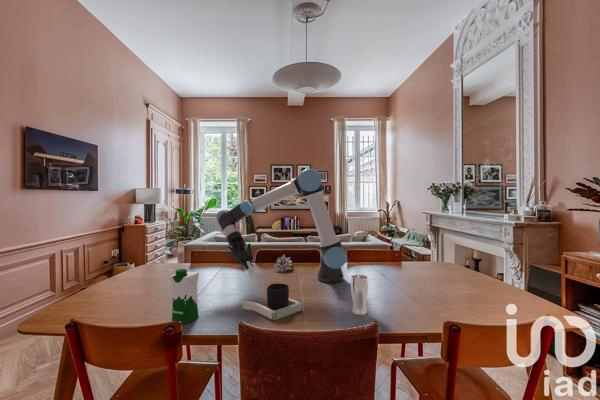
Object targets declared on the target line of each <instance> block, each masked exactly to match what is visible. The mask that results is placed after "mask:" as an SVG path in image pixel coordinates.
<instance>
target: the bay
mask: <svg viewBox="0 0 600 400" xmlns="http://www.w3.org/2000/svg"><path fill="white" fill-rule="evenodd" d="M302 303H303V302H300V301H297V300H295V299H292V298H290V297H289V300H288V306H287V307H284V308H281V309H278V310H275V311H274V310H272V309H270V308H268V306H265V305H263V304H261V303H258V302H254V301H248V300H244V301H242V309H243V310H248V311H253V312H256V313H258V314H259V315H262V316H264V317H265V318H268V319H270V320H273V321H277V320H279V319H282V318H284V317H287V316H290V315H292V314H296V313H298V312H301V311H302V310H303V304H302Z"/></svg>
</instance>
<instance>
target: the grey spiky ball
mask: <svg viewBox="0 0 600 400" xmlns="http://www.w3.org/2000/svg"><path fill="white" fill-rule="evenodd" d="M273 267H275V268H276V267H277V271H280V273H282V272H283V271H284V270H286V271H288V267H289V268H290V269H291V270H292V271H294V269H295V266H294V265H293V260H291V257H290V256H289V257H286V255H285V254H283V255H281V256H280V257H277V258H276V260H275V264H274V265H273Z"/></svg>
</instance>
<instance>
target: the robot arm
mask: <svg viewBox="0 0 600 400" xmlns="http://www.w3.org/2000/svg"><path fill="white" fill-rule="evenodd" d="M322 182H323V181H322V176H321V174H320V172H319V171H317V170H316V169H314V168H306V169H304V170H302V171H301V172H300V173H299V174H298V176H296V177H294V178H292V179H291V180H290V181H289V182H287V183H285V184H283V185H281V186H278V187H277V188H274V189H272V190H270V191H268V192H265V193H263V194H260V195H259V196H257V197H255V198H252V199H251V200H248V199H245V200H242V201H241V202H240V203H238V205H235V206H234V207H232V208H231V209H230V210H229V209H222V210H220V211H218V212H217V213H216V216H215V217H216V220H217V223H218V225H219V227H220V229H221V231H222V233H223V235H224V237H225V239H226V241H227V243H228V245H229V246H228V247H227V249H226V252H228V253H229V254H230V255H231V256H232V257H233V259H234V260H235V262H236V263H237V264H238V265H241V266H243V267H244V270H246V271H247V272H248V275H249V276H250V277H252V276H254V274H255V273H256V272H255V269H254V265H253V263H252V261H253V259H254V256H253V252H252V249H251V246H252V245H251V243H246V242H245V240H244V238H243V236H242V233H241V232H240V230H239V227H238V226H237V223H239V222H240V221H242V220H243V219H244V218H246V217H249V216H251V215H253V214H255V213H257V212H259V211H261V210H263V209H266V208H268V207H270V206H272V205H275V204H276V203H279V202H281V201H283V200H285V199H288V198H290V197H292V196H294V195H301V194H302V197H303V198H304V199H306V201H307V203H308V207H309V209H310V213H311V215H312V219H313V221H314V225H315V228H316V231H317V234H318V238H319V240H320V243H319V245H318V247H319V250H320V255H319V256H320V264H319V265H320V266H319V269H318V272H317V277H316V278H317V280H318V281H320V282H322V283H330V284H331V283H333V284H336V283H341V282H343V281H344V273H343V270H342V267H343V266H344V265H345V264H346V262H347V253H346V251H345V250H344V247H343V245H342V241H341V239H340V238H339V237H337V235H336V232H335V230H334V226H333V223H332V220H331V216H330V214H329V210H328V208H327V204H326V202H325V198H324V191H325V189H324V185H323V183H322Z"/></svg>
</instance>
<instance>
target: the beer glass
mask: <svg viewBox="0 0 600 400" xmlns="http://www.w3.org/2000/svg"><path fill="white" fill-rule="evenodd" d="M350 279H351V280H350V293H351V298H352V299H351V300H352V309H351V313H352V314H353V315H354V316H355V315H356V316H362V317H363V316H366V315H367V314H368V311H367V299H368V292H369V282H368V276H367V275H363V274H353V275H351V278H350Z"/></svg>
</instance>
